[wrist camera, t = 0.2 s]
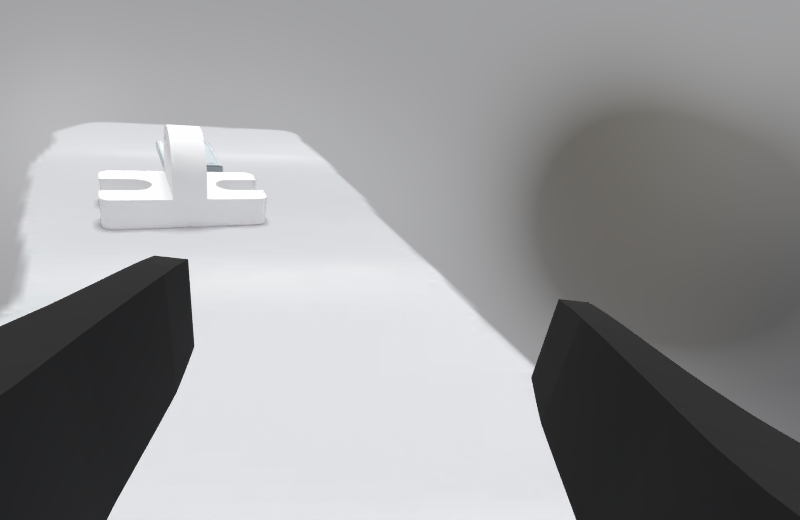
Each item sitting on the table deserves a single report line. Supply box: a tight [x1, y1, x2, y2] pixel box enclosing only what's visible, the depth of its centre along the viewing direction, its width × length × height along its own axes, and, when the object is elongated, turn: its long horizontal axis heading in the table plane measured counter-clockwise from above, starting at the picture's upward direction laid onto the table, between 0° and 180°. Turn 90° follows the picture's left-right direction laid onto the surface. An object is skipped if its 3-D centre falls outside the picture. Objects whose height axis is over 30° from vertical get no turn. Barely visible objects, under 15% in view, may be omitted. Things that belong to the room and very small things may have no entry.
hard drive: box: [156, 140, 223, 172], centre depth 78 cm, size 2×8×12 cm
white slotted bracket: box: [99, 124, 267, 230], centre depth 59 cm, size 10×18×11 cm, turn 118°
